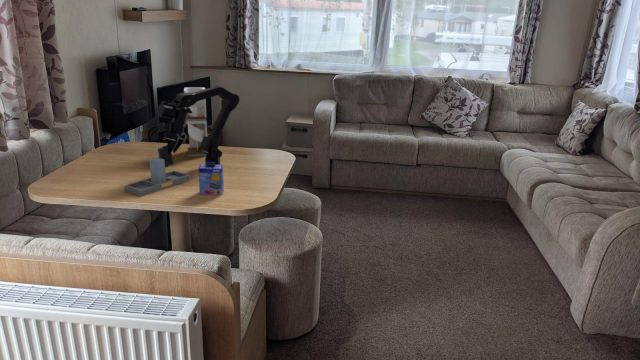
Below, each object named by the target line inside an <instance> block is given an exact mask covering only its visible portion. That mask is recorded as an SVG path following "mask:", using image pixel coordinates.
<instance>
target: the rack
mask: <svg viewBox="0 0 640 360" xmlns="http://www.w3.org/2000/svg"><path fill="white" fill-rule="evenodd" d="M165 174H166V182H164V183H161V184H156V183H152V182H151V177H148V178H144V179H141V180H138V181H134V182H131V183H129V184H125V185H124V190H125V192H127V193H130V194H133V195H136V196H140V197H143V196H147V195H149V194H152V193H155V192H158V191H162V190H164V189H167V188H170V187H173V186H176V185H178V184H182V183H185V182H188V181H190V180H191V174H189V173H185V172H182V171H179V170H171V171H168V172H165Z"/></svg>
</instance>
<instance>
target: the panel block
mask: <svg viewBox="0 0 640 360" xmlns="http://www.w3.org/2000/svg"><path fill="white" fill-rule="evenodd" d="M149 172H150V178H151V182H152V183H156V184H161V183H164V182H166V174H165V173H166V164H165V160H164V159H160V158H159V157H153V158H150V159H149Z"/></svg>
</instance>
